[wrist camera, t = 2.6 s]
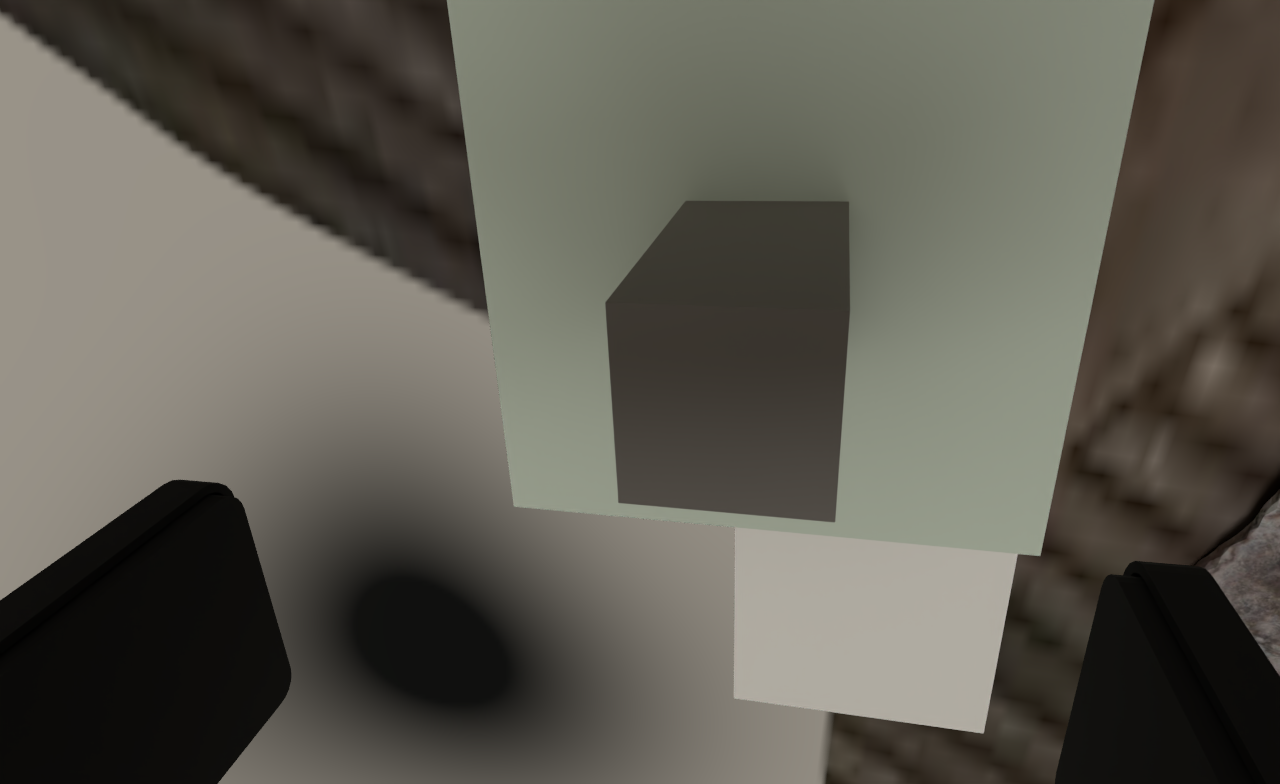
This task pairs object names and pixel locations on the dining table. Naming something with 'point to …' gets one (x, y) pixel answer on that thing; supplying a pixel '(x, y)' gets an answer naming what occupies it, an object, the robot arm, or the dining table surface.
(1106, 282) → the dining table surface
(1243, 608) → the fossil
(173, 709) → the robot arm
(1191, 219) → the dining table surface
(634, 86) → the lid
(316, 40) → the dining table surface
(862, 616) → the stone tile
